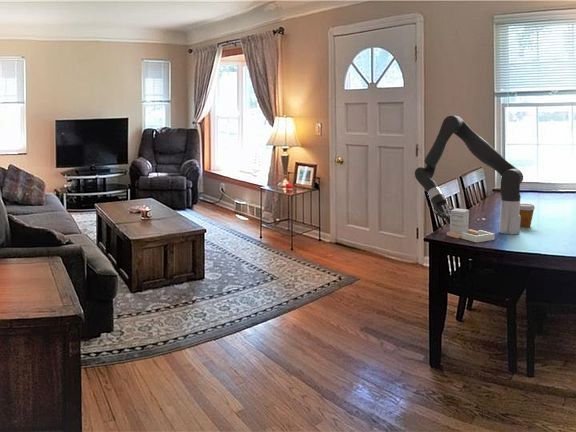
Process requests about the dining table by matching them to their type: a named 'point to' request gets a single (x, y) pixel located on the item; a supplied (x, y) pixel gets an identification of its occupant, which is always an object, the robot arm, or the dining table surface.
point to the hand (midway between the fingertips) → (451, 223)
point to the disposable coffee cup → (526, 215)
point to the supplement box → (459, 221)
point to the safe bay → (479, 236)
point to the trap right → (473, 232)
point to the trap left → (454, 234)
